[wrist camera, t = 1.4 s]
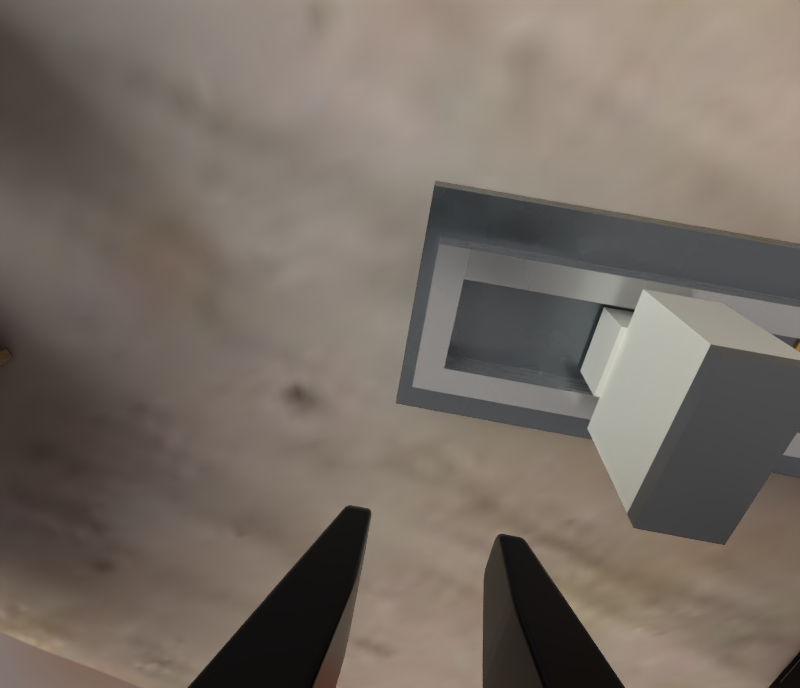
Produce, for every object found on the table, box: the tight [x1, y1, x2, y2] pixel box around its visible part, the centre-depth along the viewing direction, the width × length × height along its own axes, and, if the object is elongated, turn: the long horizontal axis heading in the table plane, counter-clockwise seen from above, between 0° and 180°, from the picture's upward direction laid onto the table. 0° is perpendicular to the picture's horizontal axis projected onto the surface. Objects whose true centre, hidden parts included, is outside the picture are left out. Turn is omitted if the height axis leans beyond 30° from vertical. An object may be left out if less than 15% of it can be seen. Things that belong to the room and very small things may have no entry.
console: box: [396, 181, 800, 478], centre depth 17 cm, size 20×9×3 cm, turn 81°
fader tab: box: [580, 289, 800, 545], centre depth 14 cm, size 3×5×6 cm, turn 171°
